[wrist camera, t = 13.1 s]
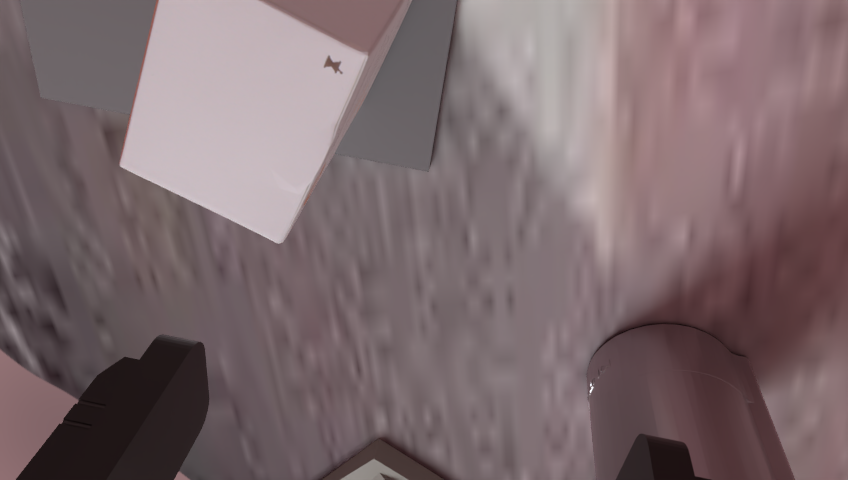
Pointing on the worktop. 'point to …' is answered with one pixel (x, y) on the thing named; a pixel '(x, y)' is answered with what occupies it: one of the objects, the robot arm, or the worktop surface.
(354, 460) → the soap mold
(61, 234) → the worktop surface
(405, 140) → the mat
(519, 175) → the worktop surface
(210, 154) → the small box
